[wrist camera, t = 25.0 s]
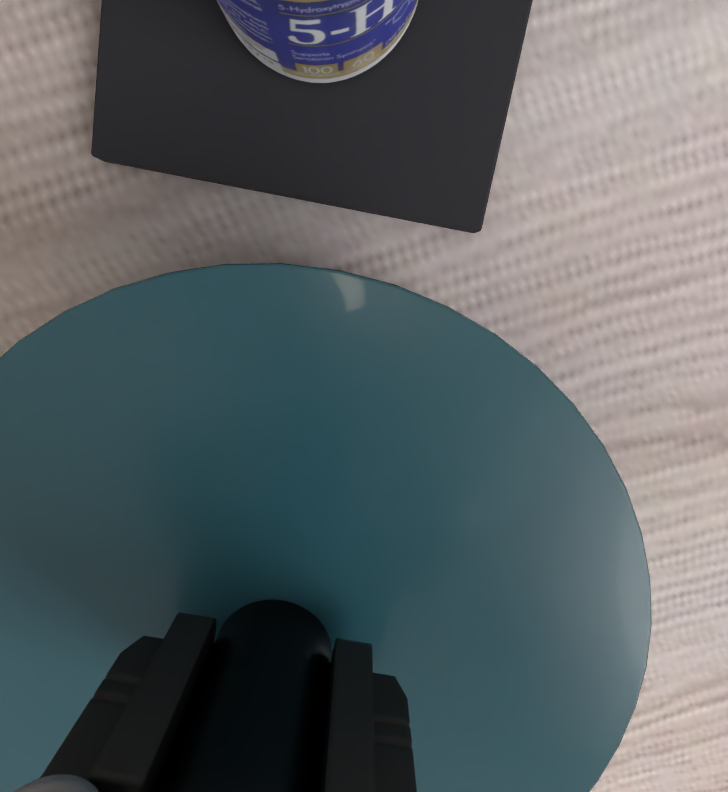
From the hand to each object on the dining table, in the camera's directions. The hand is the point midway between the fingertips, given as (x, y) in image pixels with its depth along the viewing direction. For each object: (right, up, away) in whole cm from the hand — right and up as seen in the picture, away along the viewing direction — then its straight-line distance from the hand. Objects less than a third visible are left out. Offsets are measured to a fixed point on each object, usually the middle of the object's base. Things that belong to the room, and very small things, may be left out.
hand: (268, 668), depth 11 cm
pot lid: (0, 0, +1) cm, 1 cm away
